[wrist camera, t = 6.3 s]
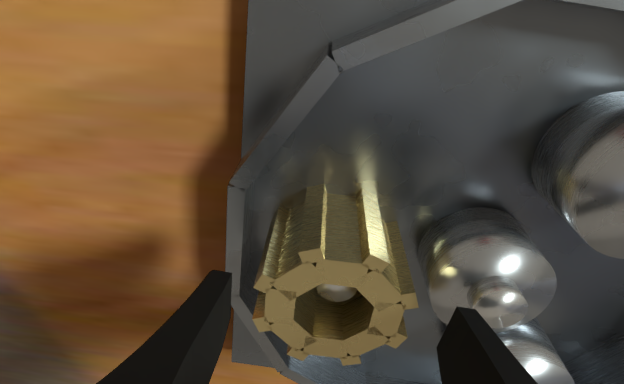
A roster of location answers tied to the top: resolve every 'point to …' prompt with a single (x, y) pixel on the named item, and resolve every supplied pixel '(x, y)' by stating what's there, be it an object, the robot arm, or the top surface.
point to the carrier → (446, 171)
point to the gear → (334, 277)
